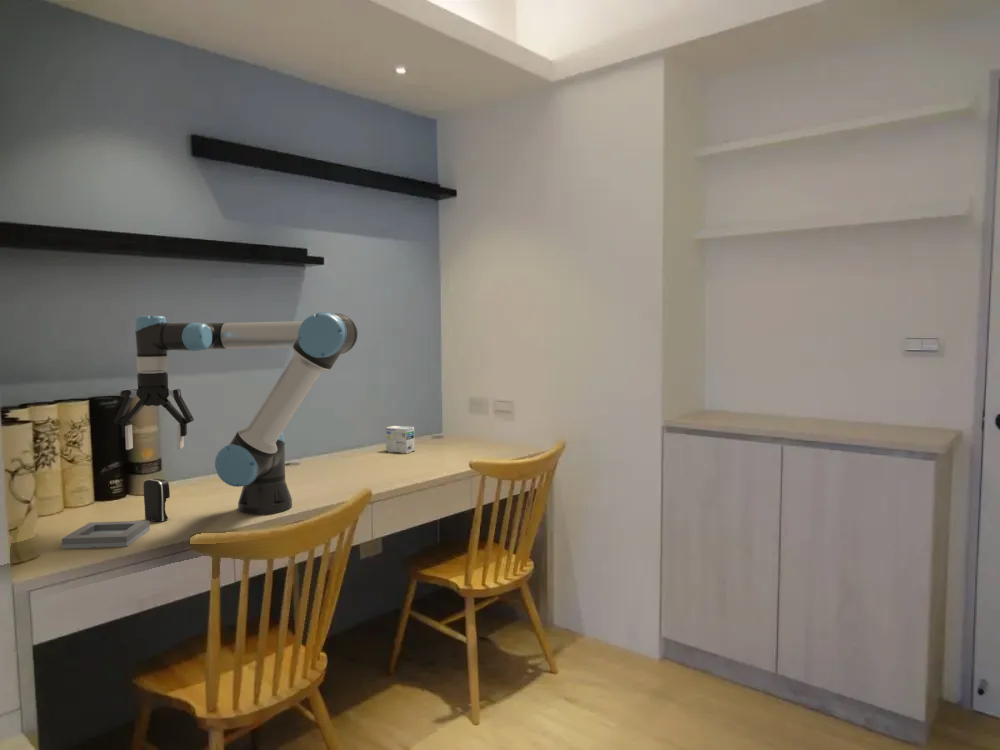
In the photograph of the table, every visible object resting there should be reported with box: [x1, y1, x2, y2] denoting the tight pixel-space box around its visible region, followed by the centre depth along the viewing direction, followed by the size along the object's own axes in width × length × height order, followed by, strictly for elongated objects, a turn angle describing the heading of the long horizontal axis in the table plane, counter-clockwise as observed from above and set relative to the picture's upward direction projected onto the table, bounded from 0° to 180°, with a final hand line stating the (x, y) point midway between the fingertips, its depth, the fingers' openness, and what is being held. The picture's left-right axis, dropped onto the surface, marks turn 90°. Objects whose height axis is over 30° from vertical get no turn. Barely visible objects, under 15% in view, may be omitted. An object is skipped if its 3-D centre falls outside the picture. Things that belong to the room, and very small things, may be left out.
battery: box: [143, 478, 171, 523], centre depth 193 cm, size 7×4×11 cm, turn 63°
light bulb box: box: [385, 425, 416, 454], centre depth 297 cm, size 11×7×11 cm, turn 66°
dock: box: [61, 520, 151, 550], centre depth 176 cm, size 15×14×2 cm
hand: (155, 448), depth 192 cm, fingers open, 13 cm apart
